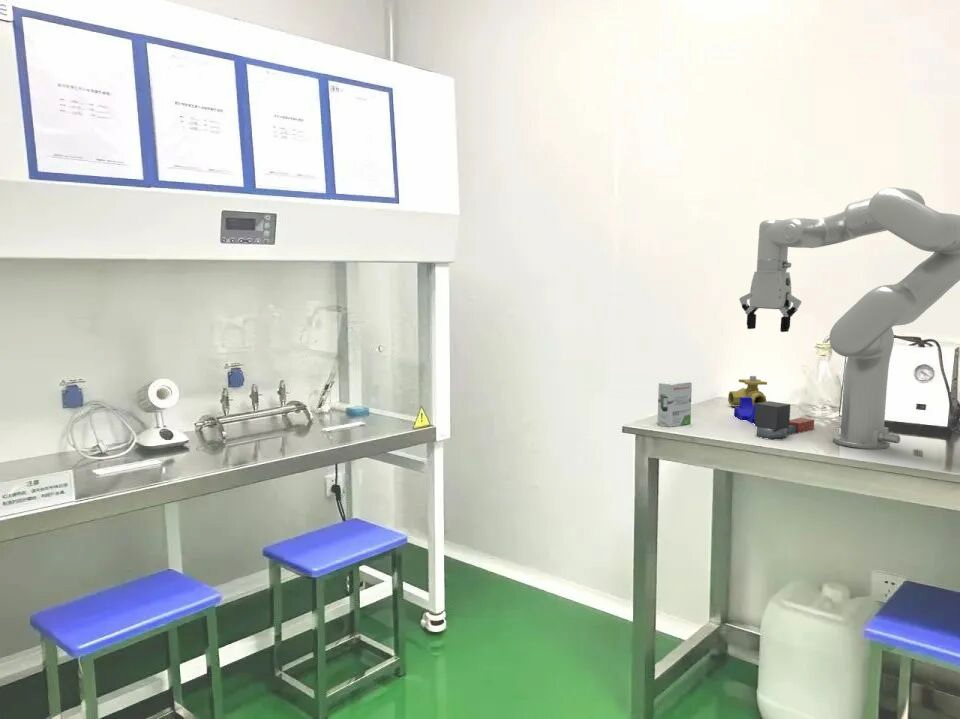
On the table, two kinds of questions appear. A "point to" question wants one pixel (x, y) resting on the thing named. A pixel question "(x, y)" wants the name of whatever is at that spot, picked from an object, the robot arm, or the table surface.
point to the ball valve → (748, 392)
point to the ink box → (674, 403)
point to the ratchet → (787, 429)
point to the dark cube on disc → (772, 415)
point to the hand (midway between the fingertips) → (767, 330)
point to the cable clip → (745, 410)
